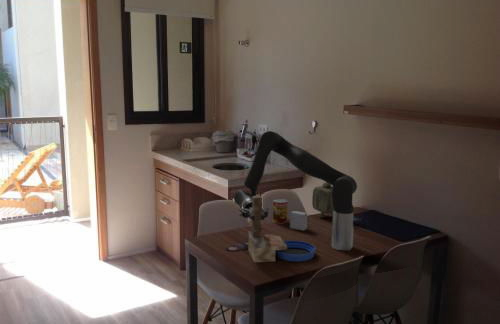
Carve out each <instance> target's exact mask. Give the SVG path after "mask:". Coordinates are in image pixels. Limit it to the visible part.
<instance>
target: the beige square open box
mask: <svg viewBox="0 0 500 324" xmlns="http://www.w3.org/2000/svg"><path fill="white" fill-rule="evenodd" d="M274 236H275V237H278V239H279V240H280V242H279V243H280V246H270V245H269V239H268V240H266V239H265V237H264V235H263V236H262V235H261V237H262V238H263V240H264V242H265V248H255V247H254V245H253V243H252V241H251V240H250V238H249V237H248V245H247V246H248V254H249V255H250V257H251V259H252V260H253V262H254V263H268V262H270V263H271V262H276V254H275V253H276V250H280V251H281V250H286V249H287V245H286V244H285V243H284V241H285V240H283V238H281V236H280V235H274Z"/></svg>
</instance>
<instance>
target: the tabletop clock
mask: <svg viewBox="0 0 500 324" xmlns="http://www.w3.org/2000/svg"><path fill="white" fill-rule="evenodd" d="M332 189H333V185H331V184H330V183H328V182H326V181H324V182H323V183H322V185H319V186H315V187H314V188H313V190H312V198H311V199H312V200H311V201H312V203H311V204H312V208H313V209H314V210H315V211H317V212H320V215H321V216H320V218H321V219H324V214H330V215H332V216H333V205H332Z"/></svg>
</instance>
